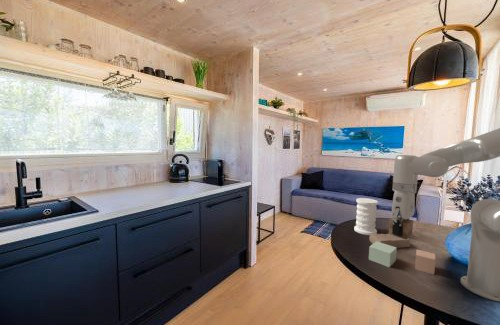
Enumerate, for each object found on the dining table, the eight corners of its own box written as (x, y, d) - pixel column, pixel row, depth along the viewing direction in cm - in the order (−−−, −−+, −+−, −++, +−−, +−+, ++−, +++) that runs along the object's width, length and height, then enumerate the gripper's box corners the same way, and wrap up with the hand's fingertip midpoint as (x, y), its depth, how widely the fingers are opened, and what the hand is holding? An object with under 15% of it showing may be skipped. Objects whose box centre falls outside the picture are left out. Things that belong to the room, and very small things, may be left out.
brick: (397, 240, 116) (397, 231, 116) (410, 247, 108) (411, 238, 107) (368, 242, 114) (368, 233, 113) (380, 250, 105) (380, 240, 105)
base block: (395, 260, 95) (396, 247, 95) (389, 267, 90) (390, 253, 90) (375, 253, 101) (376, 241, 101) (368, 259, 96) (369, 246, 96)
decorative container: (349, 229, 130) (351, 199, 128) (362, 225, 135) (363, 197, 133) (368, 236, 119) (370, 204, 118) (381, 232, 125) (383, 201, 123)
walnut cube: (411, 235, 86) (413, 220, 85) (406, 239, 82) (407, 223, 81) (394, 230, 90) (395, 216, 90) (388, 234, 87) (389, 219, 86)
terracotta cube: (433, 268, 90) (435, 253, 89) (434, 274, 85) (435, 260, 85) (415, 262, 94) (416, 249, 93) (414, 269, 89) (415, 254, 88)
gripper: (408, 192, 76) (403, 242, 78) (423, 186, 87) (419, 231, 88) (384, 188, 82) (380, 235, 84) (401, 183, 92) (397, 225, 94)
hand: (400, 232), depth 86 cm, fingers closed on walnut cube, 6 cm apart
